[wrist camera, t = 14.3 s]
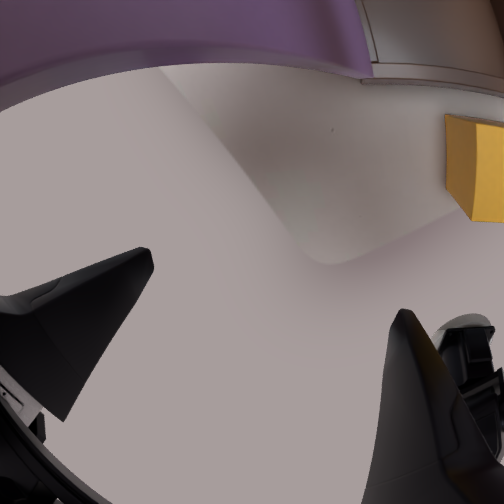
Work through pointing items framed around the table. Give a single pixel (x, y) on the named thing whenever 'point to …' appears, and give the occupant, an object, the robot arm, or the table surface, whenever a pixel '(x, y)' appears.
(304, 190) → the table surface
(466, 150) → the block
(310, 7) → the lid
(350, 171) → the table surface
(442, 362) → the robot arm
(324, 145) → the table surface
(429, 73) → the box
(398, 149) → the table surface
